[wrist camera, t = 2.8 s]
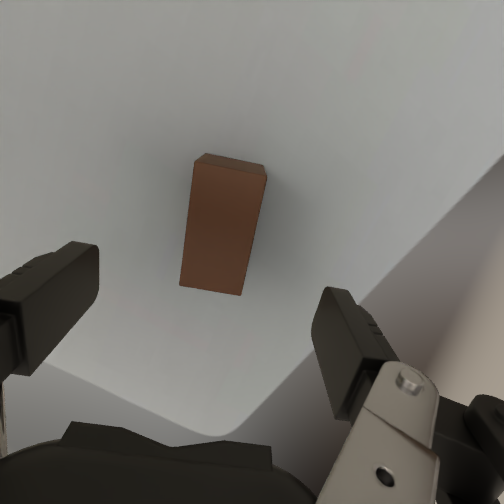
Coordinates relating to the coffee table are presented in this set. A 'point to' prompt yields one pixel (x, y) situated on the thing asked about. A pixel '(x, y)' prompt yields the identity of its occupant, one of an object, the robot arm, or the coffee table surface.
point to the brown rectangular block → (221, 223)
